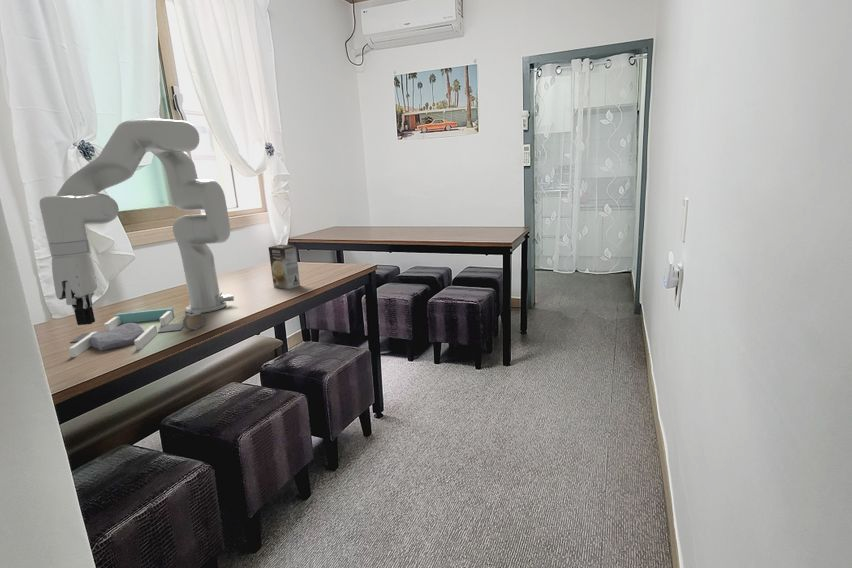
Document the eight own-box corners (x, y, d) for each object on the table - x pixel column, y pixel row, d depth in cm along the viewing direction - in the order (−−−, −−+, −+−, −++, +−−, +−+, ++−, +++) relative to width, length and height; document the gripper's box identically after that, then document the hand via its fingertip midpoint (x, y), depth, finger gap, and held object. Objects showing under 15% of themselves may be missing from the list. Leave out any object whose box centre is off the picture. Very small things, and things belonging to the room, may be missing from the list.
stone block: (151, 345, 132) (135, 332, 137) (149, 330, 130) (133, 317, 135) (104, 361, 123) (89, 346, 128) (100, 345, 121) (85, 331, 126)
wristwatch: (202, 325, 141) (199, 309, 139) (208, 326, 139) (205, 310, 138) (182, 331, 136) (179, 315, 134) (188, 333, 134) (184, 316, 133)
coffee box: (272, 287, 183) (267, 247, 180) (285, 283, 189) (280, 244, 185) (288, 289, 179) (283, 248, 175) (301, 285, 184) (296, 245, 180)
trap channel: (194, 314, 152) (193, 305, 151) (166, 346, 124) (163, 335, 123) (97, 325, 146) (94, 316, 146) (44, 360, 119) (41, 349, 118)
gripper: (68, 246, 116) (84, 317, 120) (33, 255, 102) (52, 334, 106) (102, 244, 118) (116, 313, 122) (71, 252, 103) (88, 331, 107)
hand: (86, 323), depth 114 cm, fingers closed
